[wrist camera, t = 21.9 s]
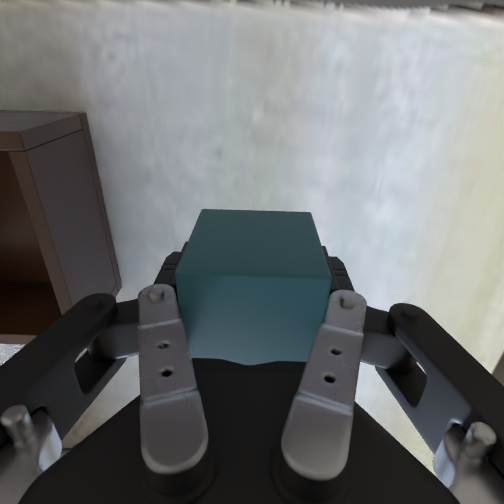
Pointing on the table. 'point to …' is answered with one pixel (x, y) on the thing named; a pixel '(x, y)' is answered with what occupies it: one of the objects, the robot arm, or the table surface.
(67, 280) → the chest
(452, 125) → the table surface
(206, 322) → the block
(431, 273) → the table surface
